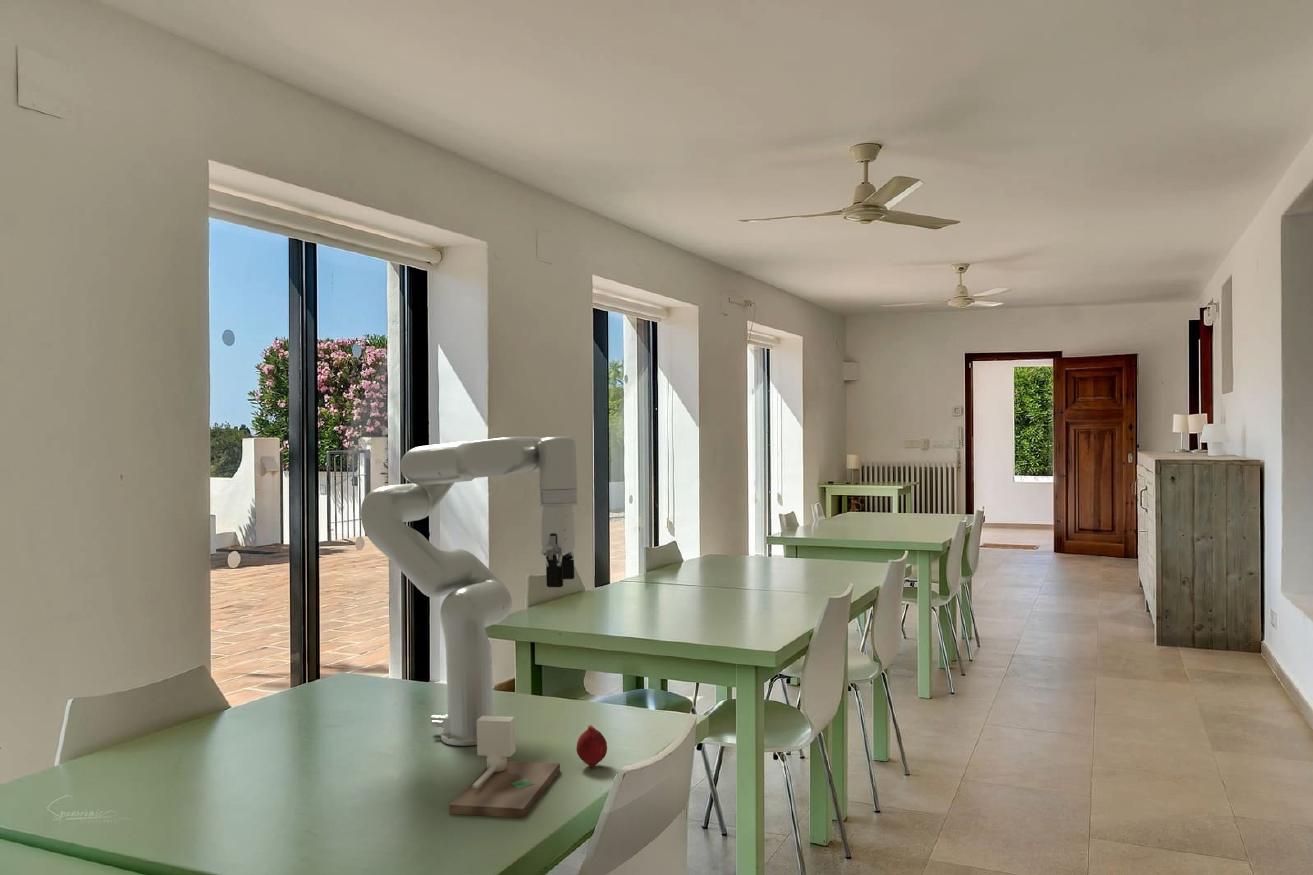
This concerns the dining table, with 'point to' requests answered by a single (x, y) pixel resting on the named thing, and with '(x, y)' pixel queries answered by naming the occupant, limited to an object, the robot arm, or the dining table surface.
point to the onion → (591, 746)
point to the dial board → (507, 790)
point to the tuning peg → (495, 743)
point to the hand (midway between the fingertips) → (560, 582)
